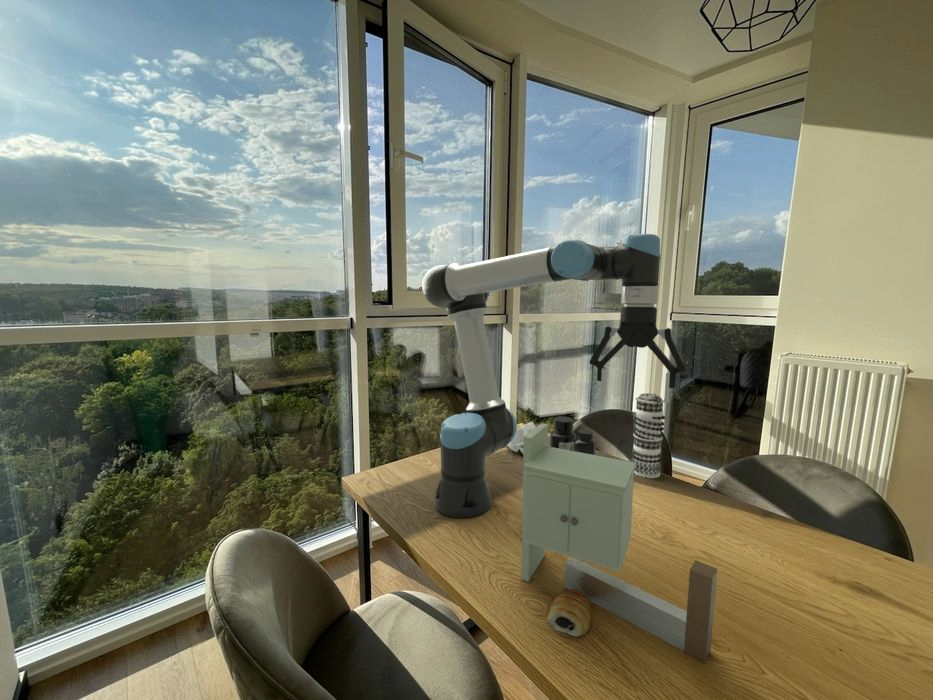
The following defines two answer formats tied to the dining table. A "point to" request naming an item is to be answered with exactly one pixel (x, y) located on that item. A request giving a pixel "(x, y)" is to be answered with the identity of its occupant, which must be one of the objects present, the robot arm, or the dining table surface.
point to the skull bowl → (520, 437)
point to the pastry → (570, 613)
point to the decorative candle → (648, 435)
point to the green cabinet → (574, 505)
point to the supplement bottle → (584, 442)
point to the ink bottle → (563, 434)
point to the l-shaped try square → (654, 605)
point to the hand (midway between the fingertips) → (633, 398)
